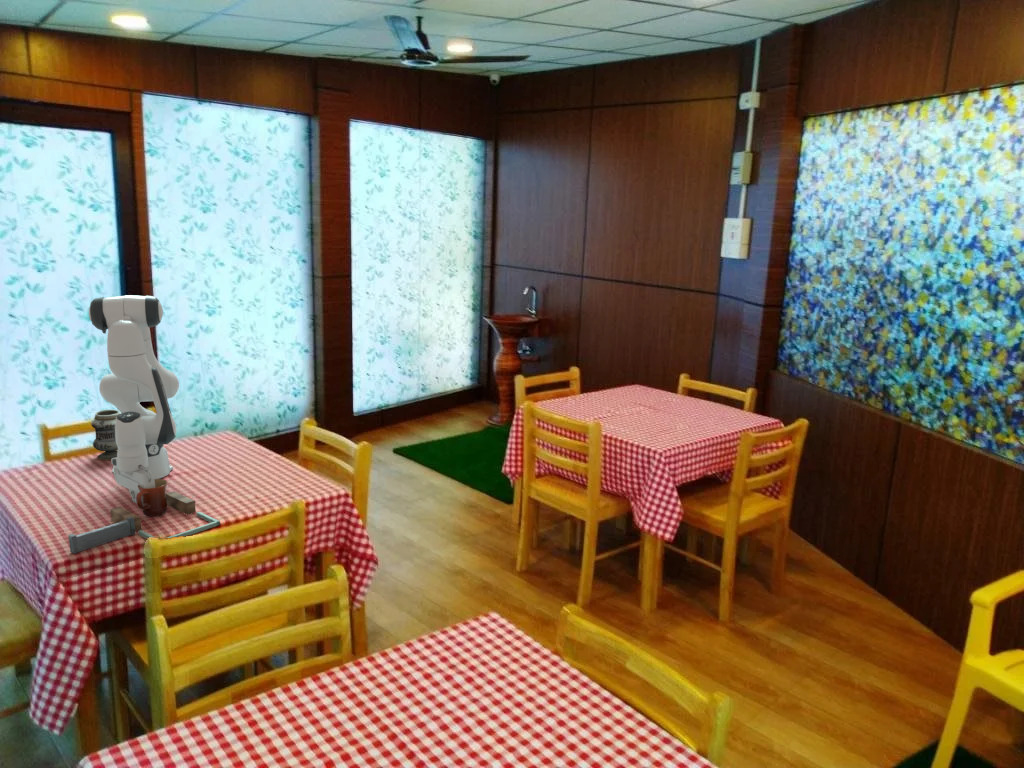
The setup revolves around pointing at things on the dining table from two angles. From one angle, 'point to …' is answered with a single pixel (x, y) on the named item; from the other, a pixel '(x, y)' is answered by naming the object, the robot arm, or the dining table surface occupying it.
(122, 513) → the wooden blocks
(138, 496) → the mug
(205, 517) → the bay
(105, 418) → the apothecary jar
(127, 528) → the gate
